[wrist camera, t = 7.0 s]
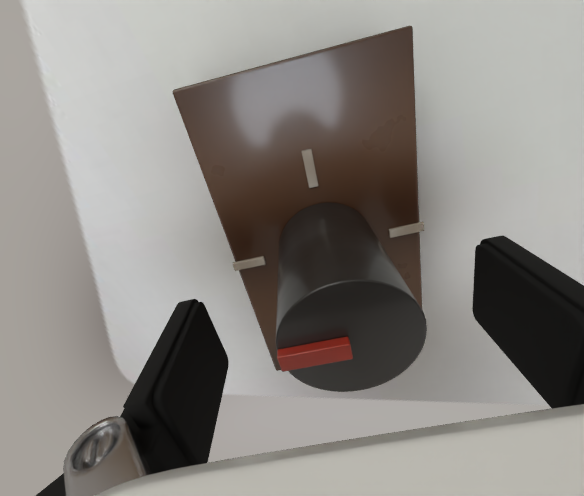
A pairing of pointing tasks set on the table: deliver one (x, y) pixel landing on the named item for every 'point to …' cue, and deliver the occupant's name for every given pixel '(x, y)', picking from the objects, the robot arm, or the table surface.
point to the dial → (342, 303)
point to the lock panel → (310, 153)
